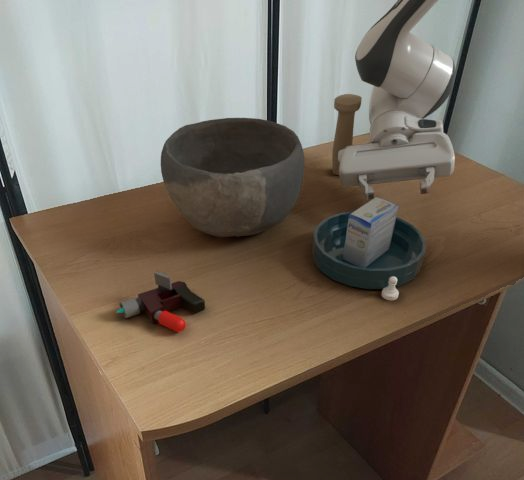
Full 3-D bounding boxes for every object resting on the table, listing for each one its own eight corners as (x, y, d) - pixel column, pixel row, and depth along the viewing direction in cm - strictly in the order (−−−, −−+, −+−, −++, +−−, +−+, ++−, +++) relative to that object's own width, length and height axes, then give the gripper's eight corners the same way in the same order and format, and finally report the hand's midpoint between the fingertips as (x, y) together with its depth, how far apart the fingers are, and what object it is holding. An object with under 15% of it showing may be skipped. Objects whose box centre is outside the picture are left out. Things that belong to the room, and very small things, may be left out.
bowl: (173, 265, 88) (162, 179, 78) (163, 196, 106) (154, 118, 95) (316, 251, 92) (324, 167, 82) (284, 186, 109) (288, 110, 99)
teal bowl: (423, 240, 95) (429, 219, 93) (416, 300, 83) (422, 279, 80) (323, 224, 99) (325, 204, 96) (301, 280, 86) (303, 259, 83)
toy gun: (113, 312, 79) (107, 286, 76) (186, 288, 84) (183, 262, 81) (137, 351, 73) (132, 325, 70) (215, 323, 78) (213, 296, 75)
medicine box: (367, 241, 94) (375, 195, 88) (389, 250, 92) (399, 204, 86) (341, 260, 89) (348, 213, 83) (364, 270, 87) (372, 223, 81)
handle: (355, 170, 115) (366, 96, 105) (343, 181, 111) (352, 106, 101) (335, 164, 117) (343, 92, 107) (322, 176, 113) (329, 101, 103)
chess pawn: (389, 302, 82) (393, 284, 80) (377, 294, 84) (381, 275, 81) (401, 297, 83) (405, 279, 81) (390, 288, 85) (394, 270, 82)
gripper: (336, 134, 100) (335, 186, 93) (451, 119, 96) (459, 173, 89) (339, 160, 106) (339, 212, 99) (448, 148, 101) (455, 201, 94)
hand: (397, 194), depth 94 cm, fingers open, 8 cm apart
